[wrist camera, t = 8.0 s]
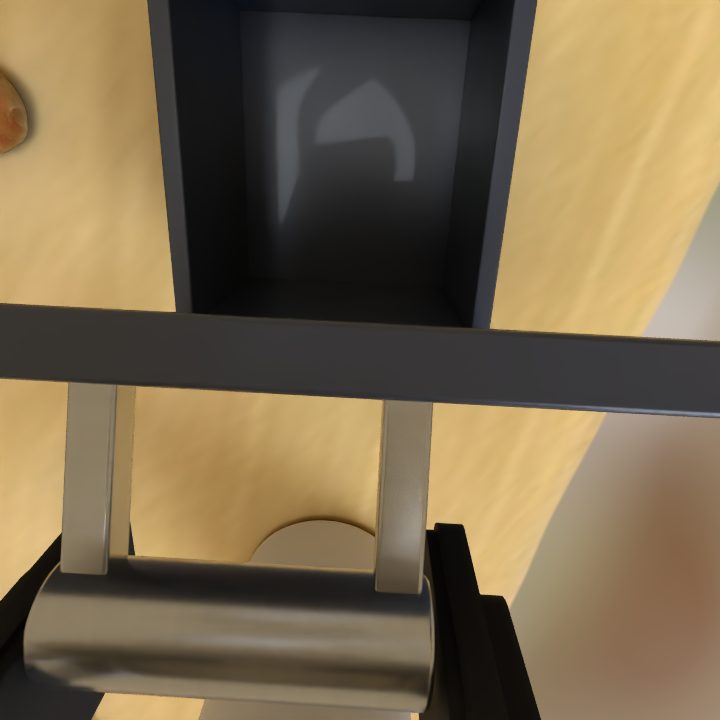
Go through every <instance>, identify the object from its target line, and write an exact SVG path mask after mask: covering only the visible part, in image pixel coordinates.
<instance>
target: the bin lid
mask: <svg viewBox="0 0 720 720" xmlns="http://www.w3.org/2000/svg"><path fill="white" fill-rule="evenodd" d="M0 379H16V380H35V381H53V382H69V386H68V408H67V429H66V451H65V473H64V495H63V517H62V539H61V561H60V562H59V563H58V564H57V565H56V566H55V567H54V568H53V570H52V571H51V572H50V573H49V575H48V576H47V578H46V579H45V580H44V582H43V584H42V585H41V587H40V589H39V591H38V593H37V595H36V597H35V599H34V602H33V604H32V606H31V609H30V612H29V615H28V618H27V621H26V625H25V629H24V634H23V640H22V649H21V661H22V668H23V672H24V675H25V677H26V679H27V680H28V682H30V683H31V684H32V685H34V686H35V687H37V688H42V689H57V690H73V691H88V692H104V693H119V694H134V695H150V696H165V697H181V698H196V699H211V700H227V701H242V702H257V703H273V704H288V705H304V706H319V707H334V708H350V709H365V710H380V711H396V712H411V713H424V712H427V711H428V710H429V708H430V705H431V701H432V697H433V690H434V679H435V649H436V648H435V616H434V603H433V595H432V589H431V585H430V582H429V579H428V577H427V575H425V574H424V556H425V538H426V520H427V502H428V484H429V466H430V448H431V431H432V413H433V403H451V404H469V405H487V406H505V407H524V408H542V409H560V410H578V411H596V412H614V413H615V412H616V413H632V414H633V413H634V414H650V415H669V416H687V417H705V418H720V341H708V340H689V339H687V340H686V339H670V338H651V337H632V336H613V335H594V334H575V333H556V332H537V331H518V330H499V329H480V328H462V327H443V326H424V325H405V324H386V323H367V322H348V321H329V320H310V319H291V318H272V317H253V316H234V315H215V314H196V313H177V312H159V311H140V310H121V309H102V308H83V307H64V306H45V305H26V304H7V303H0ZM136 386H143V387H161V388H179V389H198V390H216V391H234V392H252V393H270V394H288V395H306V396H324V397H342V398H361V399H379V400H382V417H381V436H380V454H379V472H378V491H377V509H376V527H375V546H374V564H373V570H364V569H347V568H331V567H314V566H298V565H281V564H265V563H248V562H232V561H215V560H199V559H182V558H166V557H149V556H133V555H128V546H129V525H130V504H131V483H132V461H133V440H134V419H135V398H136Z"/></svg>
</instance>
